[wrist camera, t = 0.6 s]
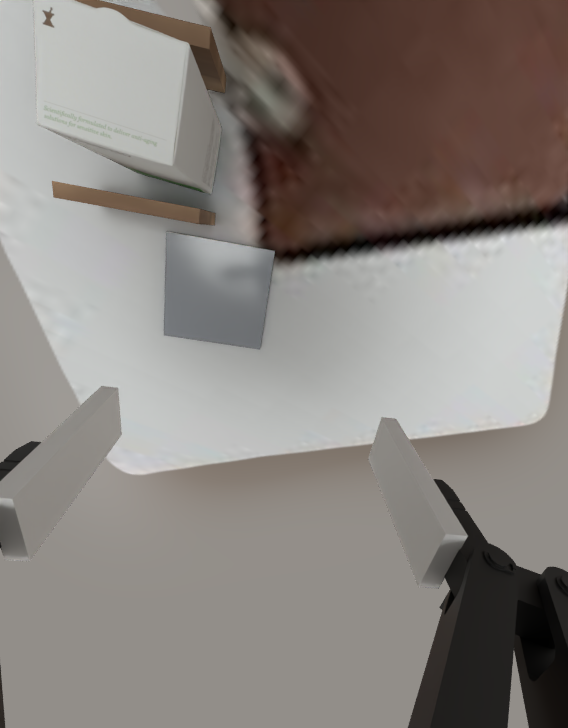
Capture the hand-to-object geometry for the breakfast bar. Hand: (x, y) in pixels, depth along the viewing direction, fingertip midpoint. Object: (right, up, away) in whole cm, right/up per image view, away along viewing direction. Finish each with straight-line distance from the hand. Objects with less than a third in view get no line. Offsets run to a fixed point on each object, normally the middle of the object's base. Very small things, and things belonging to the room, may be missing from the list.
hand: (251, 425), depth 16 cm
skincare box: (-9, +25, +16) cm, 31 cm away
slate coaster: (-6, +12, +22) cm, 26 cm away
